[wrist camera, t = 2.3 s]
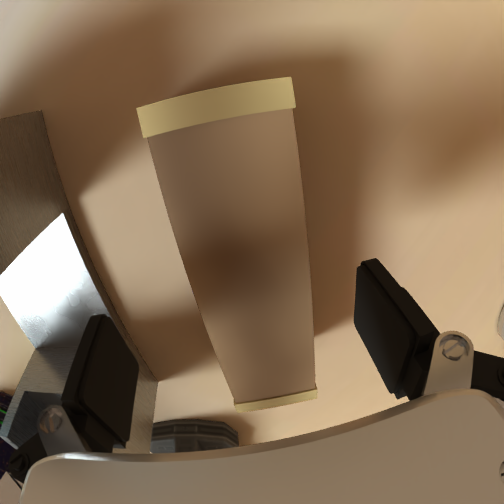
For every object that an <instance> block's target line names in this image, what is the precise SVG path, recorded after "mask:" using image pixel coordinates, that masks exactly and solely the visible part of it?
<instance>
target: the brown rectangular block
mask: <svg viewBox="0 0 504 504" xmlns="http://www.w3.org/2000/svg"><path fill="white" fill-rule="evenodd" d="M292 108H296V104H295V97H294V91H293V85H292V79H291V77H284V78H275V79H267V80H259V81H252V82H246V83H240V84H234V85H228V86H223V87H217V88H212V89H208V90H203V91H198V92H194V93H190V94H185V95H181V96H177V97H173V98H170V99H166V100H162V101H159V102H155V103H152V104H148V105H145V106H142V107H138V108H136V109H137V114H138V118H139V122H140V126H141V131H142V135H143V138H148V142H149V147H150V150H151V154H152V158H153V162H154V166H155V170H156V173H157V177H158V181H159V184H160V188H161V192H162V195H163V199H164V202H165V206H166V209H167V213H168V216H169V219H170V223H171V226H172V229H173V232H174V236H175V239H176V242H177V245H178V248H179V252H180V255H181V258H182V261H183V264H184V267H185V270H186V273H187V276H188V279H189V282H190V285H191V288H192V291H193V294H194V296H195V299H196V302H197V305H198V308H199V311H200V313H201V316H202V319H203V322H204V324H205V327H206V330H207V332H208V335H209V338H210V340H211V343H212V346H213V348H214V351H215V353H216V356H217V359H218V361H219V364H220V366H221V369H222V371H223V374H224V376H225V379H226V381H227V383H228V386H229V388H230V391H231V393H232V396H233V398H234V406H235V408H236V410H237V413H241V412H248V411H255V410H261V409H267V408H273V407H278V406H284V405H289V404H294V403H298V402H303V401H308V400H312V399H316V398H317V387H316V383H315V358H314V330H313V310H312V292H311V277H310V263H309V250H308V238H307V227H306V217H305V206H304V197H303V188H302V179H301V170H300V162H299V154H298V146H297V139H296V131H295V124H294V117H293V110H292Z"/></svg>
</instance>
